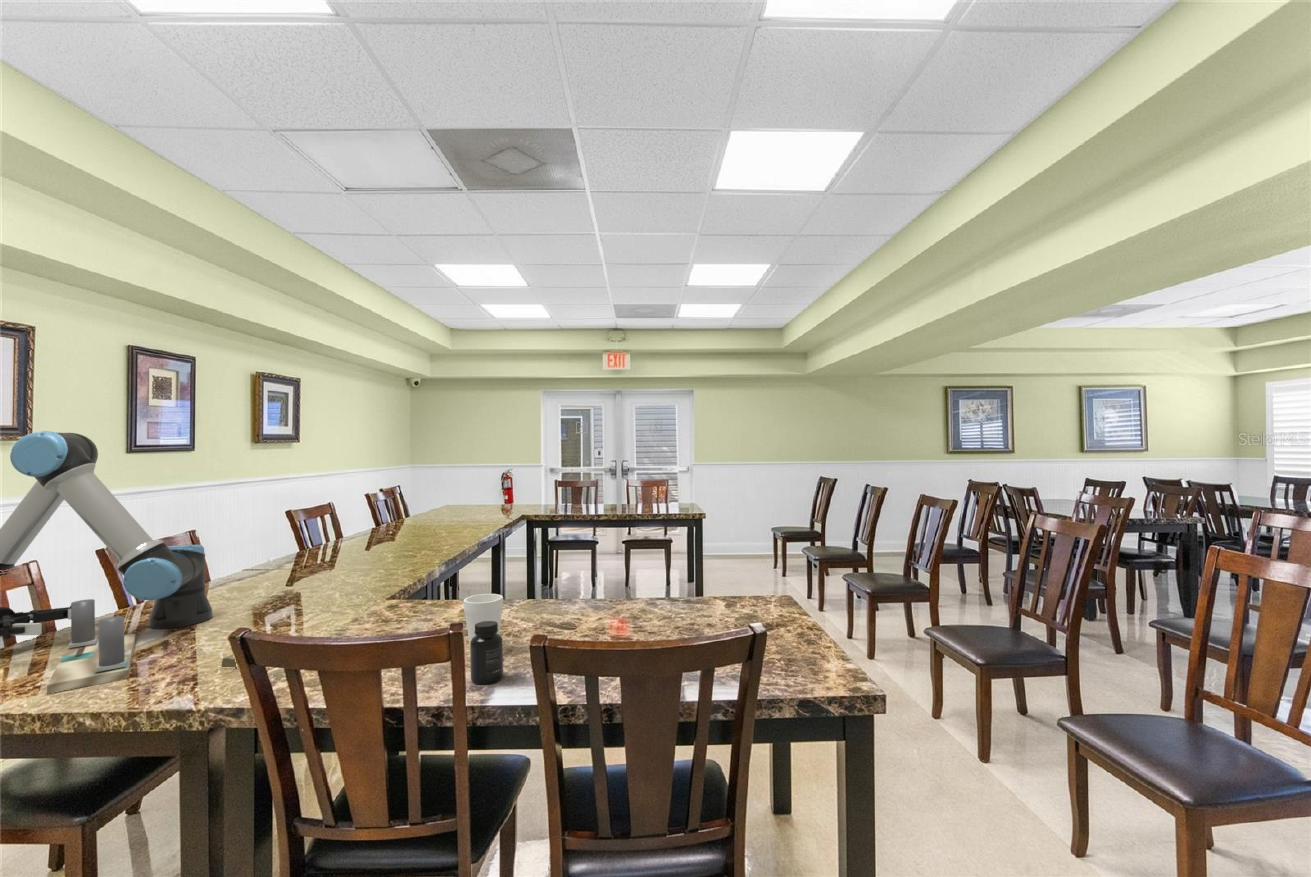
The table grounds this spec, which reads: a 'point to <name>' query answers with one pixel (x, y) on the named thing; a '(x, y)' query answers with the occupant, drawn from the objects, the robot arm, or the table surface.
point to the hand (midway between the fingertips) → (67, 621)
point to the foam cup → (482, 610)
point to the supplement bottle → (486, 654)
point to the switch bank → (87, 667)
